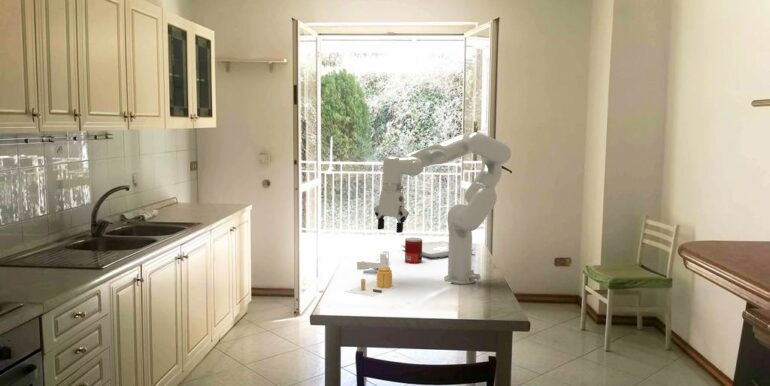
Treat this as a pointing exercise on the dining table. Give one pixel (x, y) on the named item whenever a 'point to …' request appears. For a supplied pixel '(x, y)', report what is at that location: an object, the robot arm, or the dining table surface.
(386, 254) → the bracket
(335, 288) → the dining table surface
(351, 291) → the junction plate
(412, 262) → the canned food
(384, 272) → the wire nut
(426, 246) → the square plate
